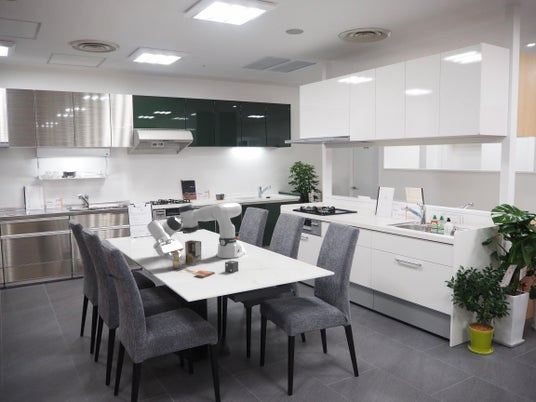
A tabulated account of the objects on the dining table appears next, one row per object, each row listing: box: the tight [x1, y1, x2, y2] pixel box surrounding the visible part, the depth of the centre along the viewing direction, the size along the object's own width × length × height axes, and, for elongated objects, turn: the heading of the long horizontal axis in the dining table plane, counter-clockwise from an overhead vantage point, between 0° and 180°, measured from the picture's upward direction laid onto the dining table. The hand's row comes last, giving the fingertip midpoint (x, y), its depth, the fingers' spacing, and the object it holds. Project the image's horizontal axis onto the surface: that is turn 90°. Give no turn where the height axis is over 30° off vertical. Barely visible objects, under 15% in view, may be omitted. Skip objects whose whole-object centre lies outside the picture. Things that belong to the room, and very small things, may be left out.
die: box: [224, 260, 239, 274], centre depth 286 cm, size 6×6×6 cm
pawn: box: [172, 250, 181, 268], centre depth 286 cm, size 4×4×11 cm
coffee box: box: [184, 239, 202, 266], centre depth 301 cm, size 9×6×16 cm
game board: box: [166, 266, 215, 279], centre depth 282 cm, size 12×30×1 cm, turn 61°
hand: (177, 258), depth 286 cm, fingers closed on pawn, 4 cm apart
